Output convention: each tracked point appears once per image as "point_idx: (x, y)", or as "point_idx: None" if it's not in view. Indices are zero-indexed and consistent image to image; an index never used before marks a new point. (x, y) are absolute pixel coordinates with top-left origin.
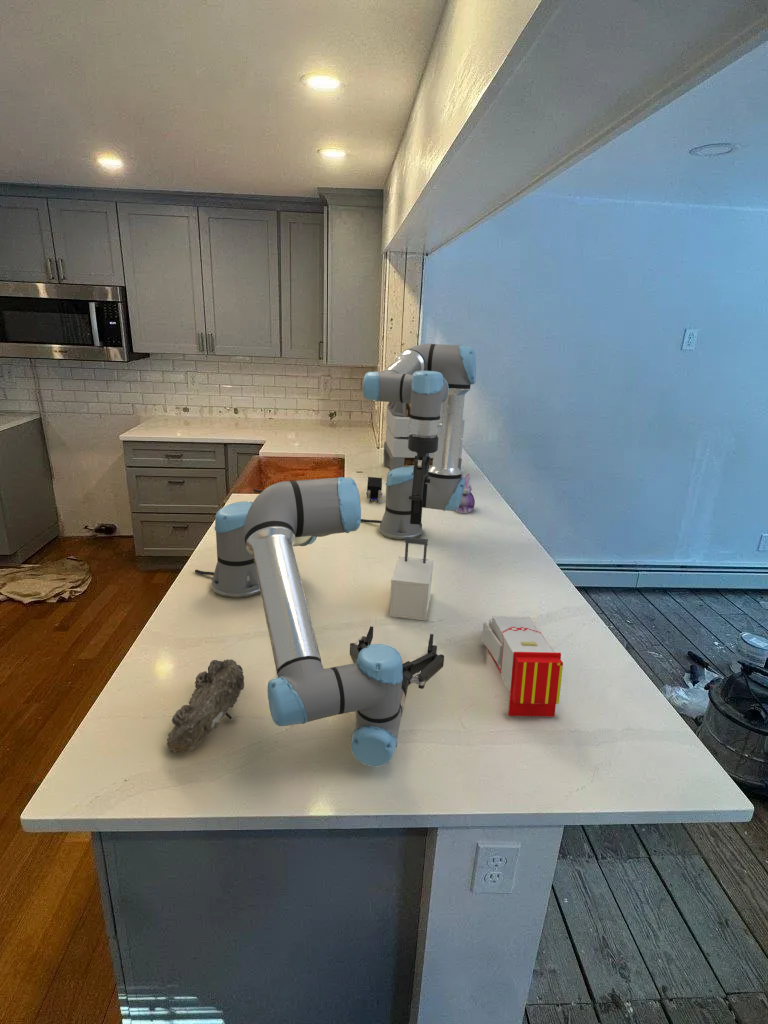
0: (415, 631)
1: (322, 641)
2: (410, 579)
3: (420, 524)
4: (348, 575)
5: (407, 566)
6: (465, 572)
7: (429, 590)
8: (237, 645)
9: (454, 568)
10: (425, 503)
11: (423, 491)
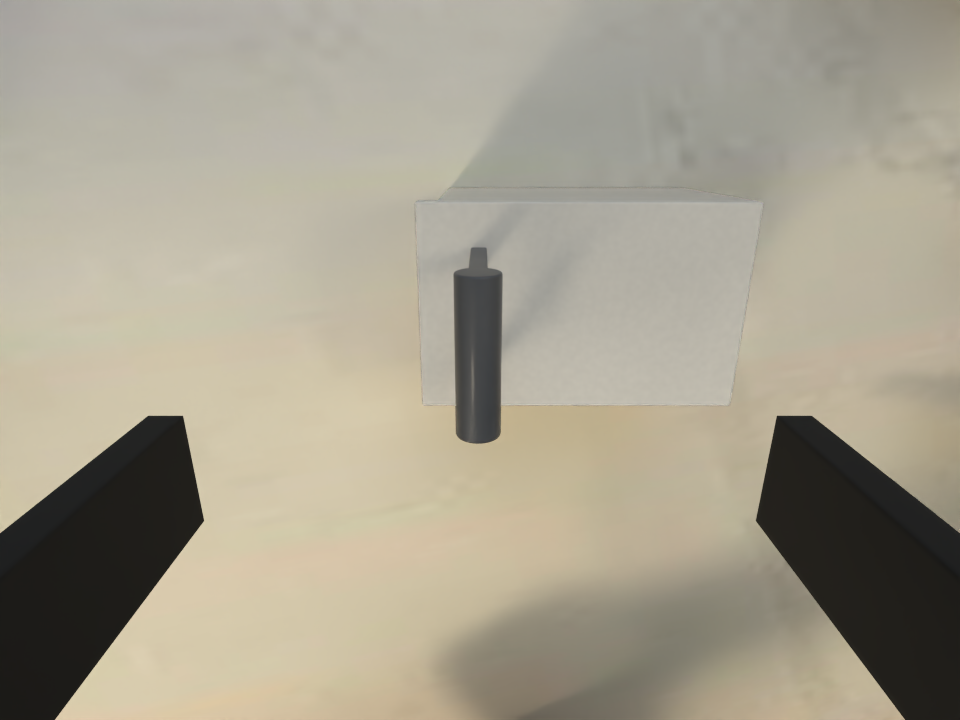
0: (770, 223)
1: None
2: (718, 311)
3: (813, 420)
4: (367, 533)
5: (551, 346)
6: (126, 8)
7: (604, 193)
8: (867, 699)
9: (103, 78)
10: (155, 445)
11: (45, 602)
